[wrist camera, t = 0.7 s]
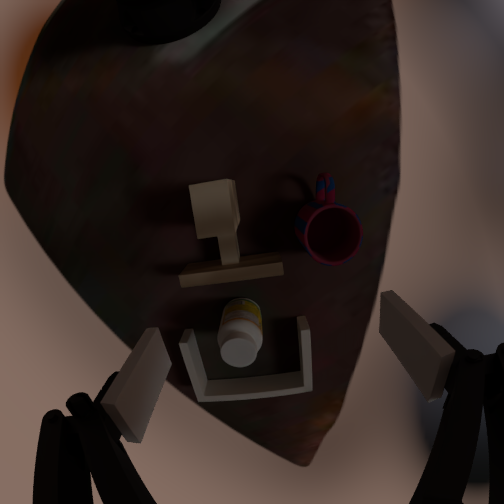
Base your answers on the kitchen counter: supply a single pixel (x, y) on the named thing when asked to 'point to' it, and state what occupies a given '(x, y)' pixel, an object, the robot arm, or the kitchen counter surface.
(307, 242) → the mug
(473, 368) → the robot arm
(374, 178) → the kitchen counter surface
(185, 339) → the corral
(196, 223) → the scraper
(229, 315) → the supplement bottle
